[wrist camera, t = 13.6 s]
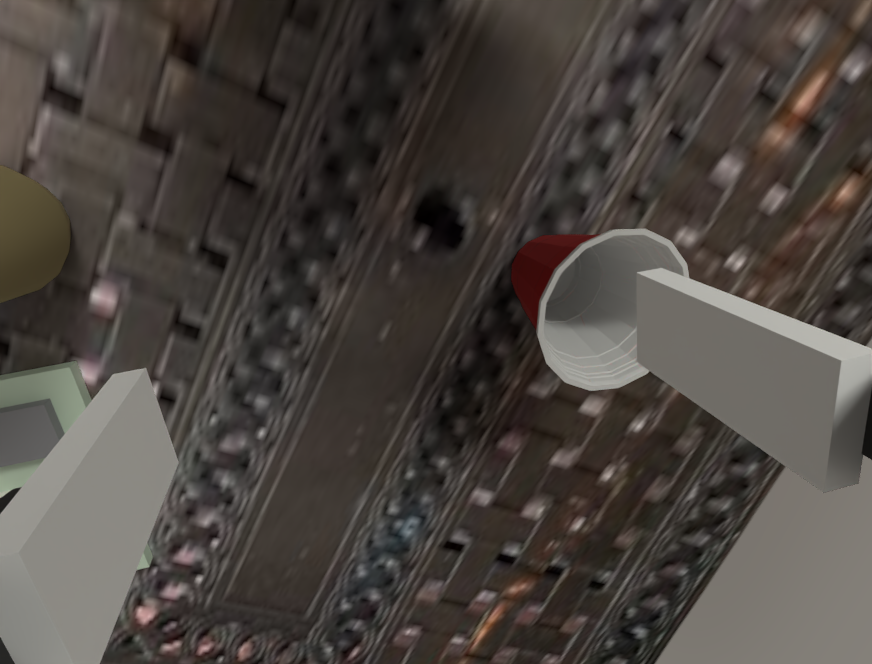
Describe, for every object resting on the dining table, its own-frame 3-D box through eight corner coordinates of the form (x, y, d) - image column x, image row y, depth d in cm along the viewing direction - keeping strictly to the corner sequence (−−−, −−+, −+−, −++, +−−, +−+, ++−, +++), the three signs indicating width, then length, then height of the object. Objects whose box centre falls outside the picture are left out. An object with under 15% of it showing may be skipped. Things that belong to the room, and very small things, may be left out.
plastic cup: (554, 356, 49) (626, 421, 38) (455, 293, 45) (503, 344, 34) (632, 251, 47) (730, 287, 36) (535, 176, 44) (612, 191, 33)
